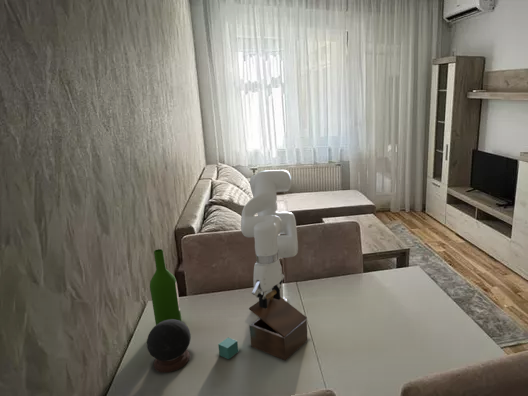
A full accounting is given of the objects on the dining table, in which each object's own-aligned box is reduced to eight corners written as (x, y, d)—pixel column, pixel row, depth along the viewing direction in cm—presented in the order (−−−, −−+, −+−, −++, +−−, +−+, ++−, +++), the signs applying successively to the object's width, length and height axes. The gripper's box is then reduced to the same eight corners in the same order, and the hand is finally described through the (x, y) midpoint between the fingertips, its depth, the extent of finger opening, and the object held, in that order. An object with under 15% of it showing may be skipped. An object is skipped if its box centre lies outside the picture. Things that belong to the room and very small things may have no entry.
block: (219, 355, 134) (218, 344, 132) (229, 347, 138) (228, 337, 136) (228, 359, 132) (227, 348, 130) (238, 351, 135) (237, 340, 134)
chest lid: (248, 309, 134) (252, 298, 132) (273, 293, 145) (276, 282, 143) (283, 338, 129) (288, 327, 127) (306, 319, 140) (310, 308, 138)
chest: (251, 346, 138) (249, 325, 136) (274, 328, 149) (273, 308, 147) (285, 360, 131) (284, 338, 129) (307, 340, 142) (306, 319, 140)
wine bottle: (186, 327, 149) (175, 250, 140) (162, 337, 143) (149, 257, 134) (176, 318, 155) (166, 243, 146) (153, 327, 149) (140, 250, 140)
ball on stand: (147, 358, 132) (141, 320, 128) (188, 343, 140) (183, 307, 136) (154, 380, 122) (147, 340, 118) (197, 363, 129) (192, 325, 125)
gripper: (275, 246, 142) (278, 289, 147) (240, 264, 127) (244, 311, 132) (291, 250, 138) (293, 294, 143) (257, 269, 124) (261, 317, 129)
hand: (270, 302), depth 138 cm, fingers closed on chest lid, 6 cm apart
